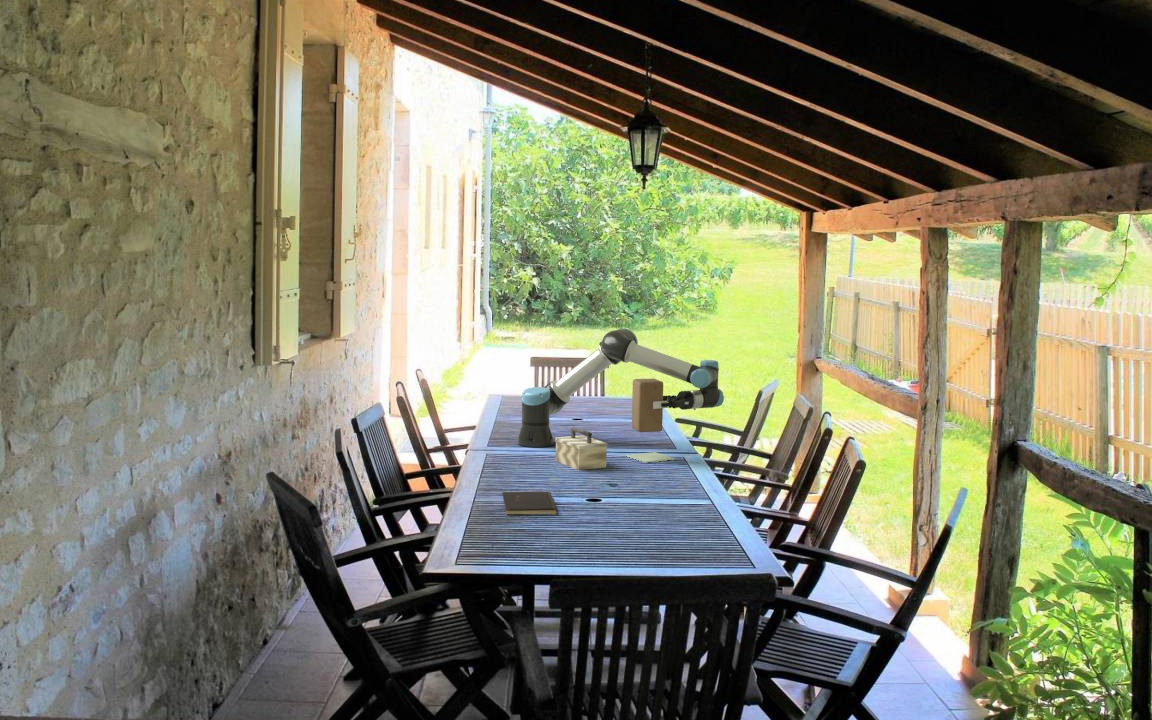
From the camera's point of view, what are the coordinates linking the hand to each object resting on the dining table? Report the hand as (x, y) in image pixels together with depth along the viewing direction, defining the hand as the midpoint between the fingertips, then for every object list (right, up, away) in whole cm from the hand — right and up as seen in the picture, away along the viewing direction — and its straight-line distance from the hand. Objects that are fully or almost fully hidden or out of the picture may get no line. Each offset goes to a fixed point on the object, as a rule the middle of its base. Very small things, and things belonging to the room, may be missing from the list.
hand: (644, 403), depth 396 cm
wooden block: (+1, -11, +2) cm, 11 cm away
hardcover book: (-42, -30, -74) cm, 90 cm away
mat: (+3, -22, +4) cm, 23 cm away
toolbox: (-25, -23, -9) cm, 35 cm away
